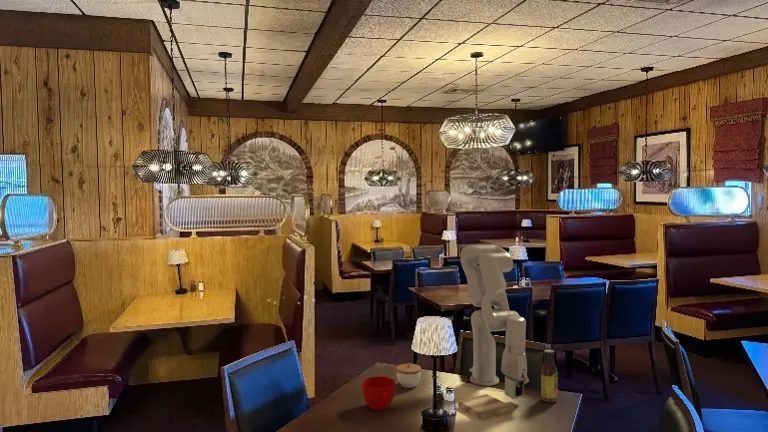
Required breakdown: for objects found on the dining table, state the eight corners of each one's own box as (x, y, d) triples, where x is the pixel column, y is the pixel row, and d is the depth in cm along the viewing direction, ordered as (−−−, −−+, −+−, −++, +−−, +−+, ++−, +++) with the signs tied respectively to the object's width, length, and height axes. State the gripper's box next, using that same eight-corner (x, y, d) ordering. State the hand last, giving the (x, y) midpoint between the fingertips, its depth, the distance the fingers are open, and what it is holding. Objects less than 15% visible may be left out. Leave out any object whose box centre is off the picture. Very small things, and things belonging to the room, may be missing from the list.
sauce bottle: (558, 403, 215) (558, 353, 214) (541, 402, 216) (541, 353, 215) (556, 397, 222) (556, 349, 220) (540, 396, 223) (540, 348, 222)
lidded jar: (423, 382, 241) (423, 360, 240) (418, 390, 231) (418, 368, 230) (399, 379, 244) (399, 359, 243) (393, 388, 234) (393, 366, 233)
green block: (504, 394, 218) (505, 377, 217) (514, 391, 220) (514, 375, 219) (513, 399, 213) (513, 382, 213) (523, 396, 216) (523, 379, 215)
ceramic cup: (369, 420, 202) (368, 393, 202) (359, 402, 218) (358, 378, 218) (402, 415, 206) (402, 389, 205) (390, 399, 222) (390, 374, 221)
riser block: (458, 408, 213) (458, 400, 213) (486, 401, 220) (486, 393, 220) (482, 421, 201) (482, 413, 201) (511, 413, 208) (511, 405, 208)
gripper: (493, 343, 220) (492, 386, 222) (523, 356, 206) (522, 403, 207) (507, 340, 224) (506, 383, 226) (538, 353, 209) (536, 399, 211)
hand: (513, 392), depth 217 cm, fingers closed on green block, 5 cm apart
